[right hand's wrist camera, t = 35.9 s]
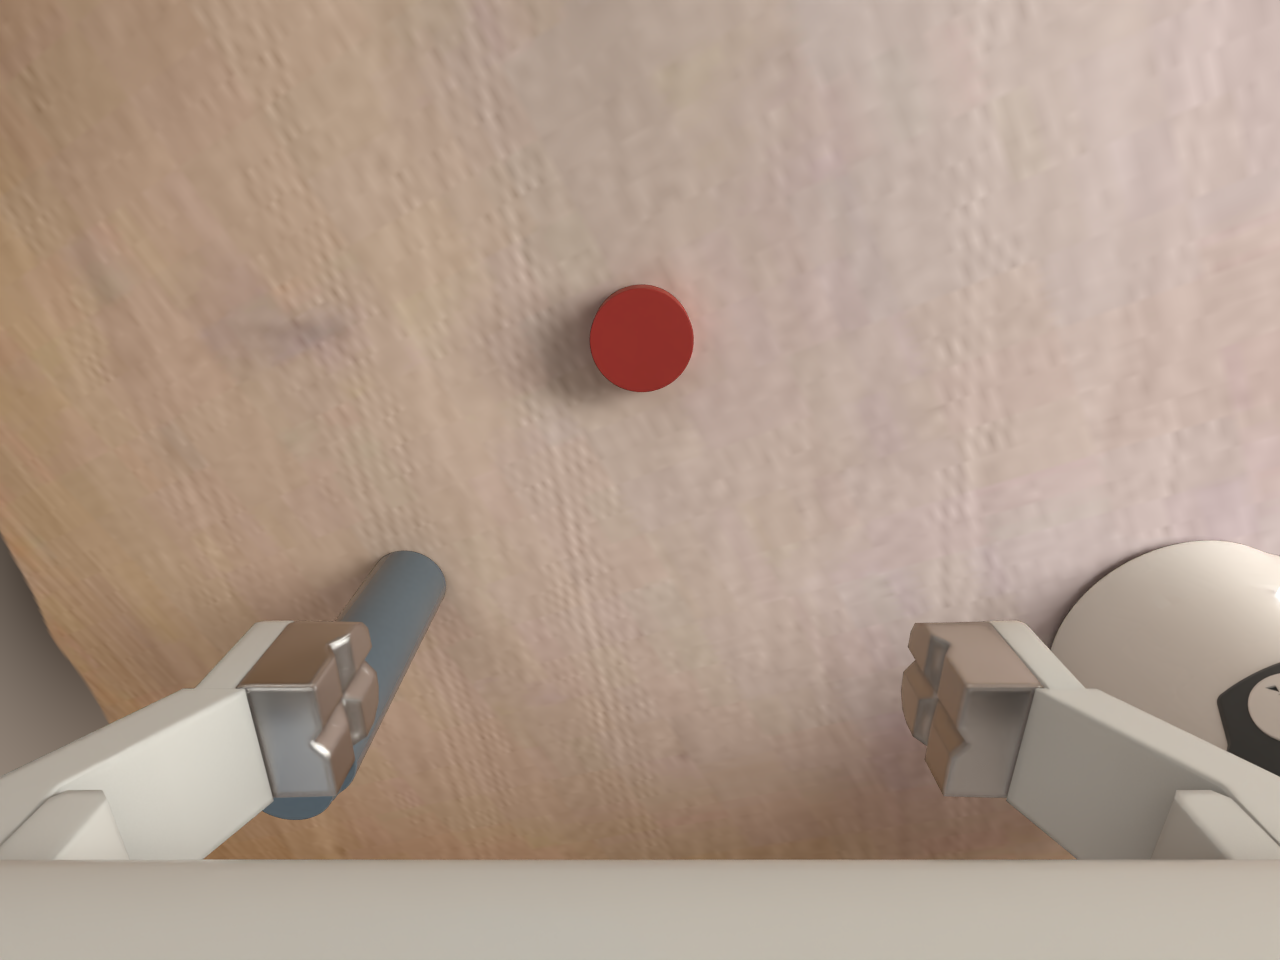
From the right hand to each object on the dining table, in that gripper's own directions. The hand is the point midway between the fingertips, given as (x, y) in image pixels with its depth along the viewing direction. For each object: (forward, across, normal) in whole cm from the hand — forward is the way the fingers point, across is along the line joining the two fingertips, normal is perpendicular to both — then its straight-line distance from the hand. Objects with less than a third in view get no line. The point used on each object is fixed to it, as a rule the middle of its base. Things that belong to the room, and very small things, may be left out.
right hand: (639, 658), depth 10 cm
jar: (+26, +13, +14) cm, 33 cm away
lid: (+25, 0, 0) cm, 25 cm away
